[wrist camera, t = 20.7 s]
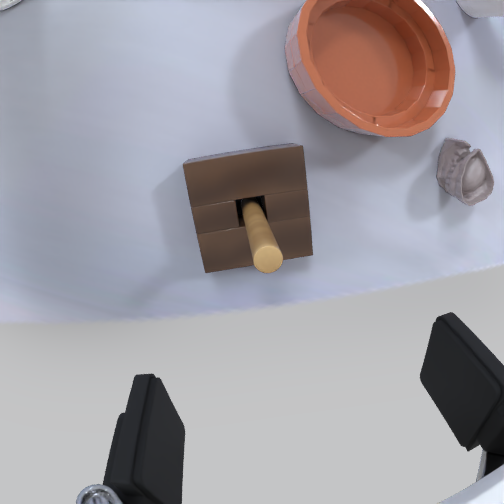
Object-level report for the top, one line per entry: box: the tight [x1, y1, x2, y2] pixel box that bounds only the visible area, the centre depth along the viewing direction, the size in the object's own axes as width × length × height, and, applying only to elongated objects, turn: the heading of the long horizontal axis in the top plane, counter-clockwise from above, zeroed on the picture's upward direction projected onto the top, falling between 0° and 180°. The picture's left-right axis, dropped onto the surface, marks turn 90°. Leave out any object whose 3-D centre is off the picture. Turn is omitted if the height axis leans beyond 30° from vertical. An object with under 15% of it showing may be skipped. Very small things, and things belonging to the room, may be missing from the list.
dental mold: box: [436, 138, 494, 206], centre depth 30 cm, size 8×7×5 cm
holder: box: [183, 143, 313, 273], centre depth 30 cm, size 11×11×4 cm
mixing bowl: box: [285, 0, 455, 137], centre depth 24 cm, size 17×17×6 cm
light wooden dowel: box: [241, 197, 283, 273], centre depth 25 cm, size 2×2×14 cm
